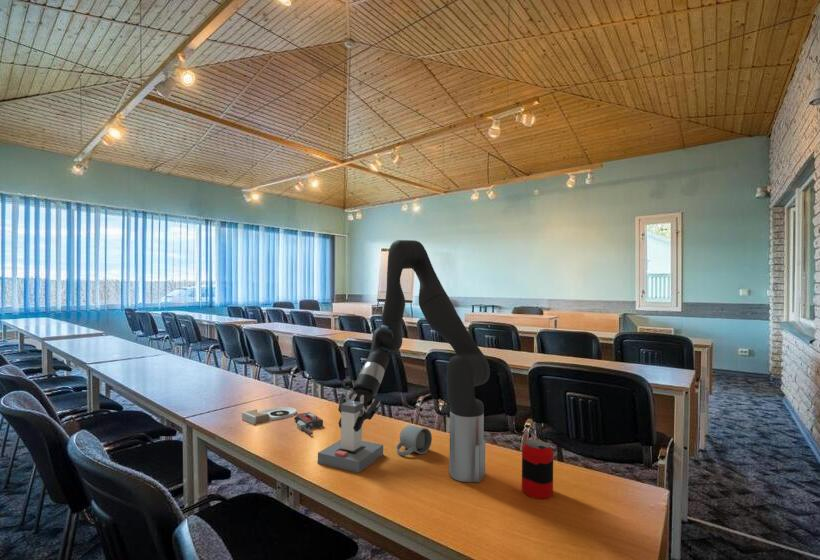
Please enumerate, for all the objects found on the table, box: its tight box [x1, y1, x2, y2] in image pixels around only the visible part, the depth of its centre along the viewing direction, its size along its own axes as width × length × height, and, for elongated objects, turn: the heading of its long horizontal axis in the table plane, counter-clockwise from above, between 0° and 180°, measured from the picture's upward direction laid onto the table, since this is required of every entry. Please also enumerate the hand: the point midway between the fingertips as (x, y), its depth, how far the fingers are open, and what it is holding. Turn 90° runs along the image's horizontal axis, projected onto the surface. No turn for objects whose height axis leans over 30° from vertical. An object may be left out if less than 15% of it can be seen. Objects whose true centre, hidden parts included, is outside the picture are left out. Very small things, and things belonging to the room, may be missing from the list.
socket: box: [317, 439, 384, 474], centre depth 123 cm, size 14×14×4 cm
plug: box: [340, 400, 363, 451], centre depth 124 cm, size 5×5×13 cm
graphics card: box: [241, 406, 297, 425], centre depth 163 cm, size 12×3×20 cm
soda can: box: [521, 439, 554, 500], centre depth 105 cm, size 8×8×12 cm
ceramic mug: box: [395, 424, 433, 457], centre depth 130 cm, size 11×8×8 cm
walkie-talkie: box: [293, 411, 324, 436], centre depth 151 cm, size 9×4×20 cm
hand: (348, 428), depth 122 cm, fingers closed on plug, 4 cm apart
